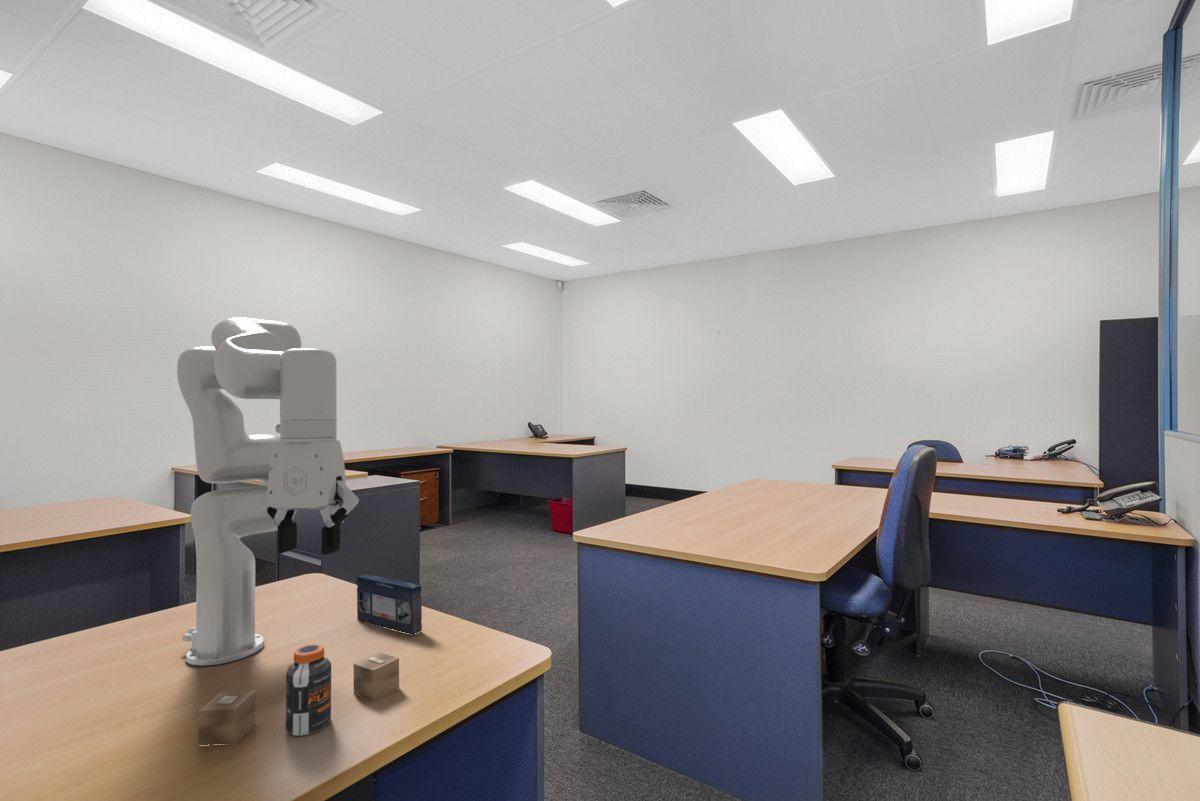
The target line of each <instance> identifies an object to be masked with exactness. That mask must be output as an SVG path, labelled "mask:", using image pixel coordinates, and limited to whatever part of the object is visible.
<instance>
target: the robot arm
mask: <svg viewBox="0 0 1200 801" xmlns="http://www.w3.org/2000/svg"><path fill="white" fill-rule="evenodd" d="M210 336H211V337H210V339H211V343H212V346H197V347H191V348H188V349H186V350H184V351H183V352H181V353H180V355H179V356H178V359H177V363H176V364H177V366H176V374H177V376H176V377H177V383H178V386H179V390H180V393H181V396H182V398H183V400H184V402H185V404H186V406H187V408H188V410H189V413H190V415H191V419H192V428H193V441H194V453H195V465H196V470H197V474H198V476H199V478H200V480H201V481H202V482H205V483H207V484H232V483H243V482H244V483H245V482H253V481H254V482H255V481H259V482H261V484H262V485H258V486H256V485H255V486H249V487H248V486H247V487H246V486H244V487H236V488H234V487H232V488H224V489H217V490H211V491H208V492H205V493H204V494H202V495H200V496H198V497H197V498H196V499H195V500H194V501H193V503H192V505H191V508H190V521H191V527H192V531H193V538H194V545H195V546H194V547H195V556H196V557H195V558H196V559H195V561H196V563H195V564H196V565H195V566H196V573H195V574H196V596H195V597H196V604H195V606H196V608H195V609H196V611H195V612H196V613H195V614H196V617H195V618H196V621H195V622H196V623H195V624H196V625H195V626H191V627H190V628H189V629H188V632H187V633H184V634H183V635H182V641H183V642H191V648H190V649H188V651H187V652H186V654H185V661H186V663H187V664H189V665H192V666H203V667H205V666H206V667H207V666H216V665H223V664H226V663H231V662H235V661H238V660H241V659H244V658H247V657H249V656H251V655H254V654H255V653H257V652H258V651H260V650H261V649H262V648H263V646H264V645H265V638H264V636H263V635H261V634H259V633H256V558H255V556H254V552H253V551H252V550H251V549H250V548H249V547H248V546H246V545H245V543H244V542H242V540H241V538H242V537H249V536H250V535H257V534H263V533H270V532H276V531H277V553H278V554H284V553H287V552H290V551H292V550H295V549H296V548H297V547H298V524H297V522H296V521H294V520H295V516H296V515H297V511H299V510H301V511H308V510H309V511H318V510H319V512H320V515H321V517H322V519H323V522H324V525H325V526H323V527H321V554H322V555H324V556H325V555H326V556H327V555H330V554H333V553H334V552H338V551H339V550H340V549H341V548H340V547H341V546H340V545H341V525H342V524H343V523H344V522H345V519H347V517H348V516H349V515H350V514H351V513H352V511H353V510H354V509H355V507H356V506H357V505H358V504H359V502H360V498H359V497H358V496H357V495H356V494H355V493H354V492H353V491H352V490H351V489H350V488H349V487H348V485H347V484H346V483H347V482H346V480H347V478H346V468H345V460H344V453H343V448H342V444H341V440H339V439H337V434H338V433H337V431H338V430H337V429H338V428H337V426H338V425H337V421H338V420H337V415H338V414H337V413H338V412H337V409H338V408H337V359H336V356H335V354H334V353H333V352H331V351H329V350H326V349H320V348H319V349H318V348H305V347H304V348H302V338H301V335H300V333H299V331H298V330H297V328H295V327H294V325H291V324H290V323H287V322H284V321H276V320H267V319H259V318H250V317H231V318H230V317H229V318H226V319H224V320H222V321H220V322H219V323H217V324H216V325H215V326H214V328H213V329H212V332H211V335H210ZM221 390H224V391H226V392H227V393H228V394H229V395H231V396H233V397H235V398H238V399H245V400H246V399H247V400H279V424H277V425H276V426H275V427H274V428H275V433H277V434H279V436H278V435H274V434H247V433H246V429H245V422H244V421H245V419H244V414H243V411H242V410H241V408H240V407H239V406H238V405H237V404H236V403H235V401H234V400H232V398H230V397H229V396H228V395H226V394H225V393H223V392H222V391H221ZM341 504H342V505H341ZM340 505H341V506H340Z"/></svg>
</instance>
